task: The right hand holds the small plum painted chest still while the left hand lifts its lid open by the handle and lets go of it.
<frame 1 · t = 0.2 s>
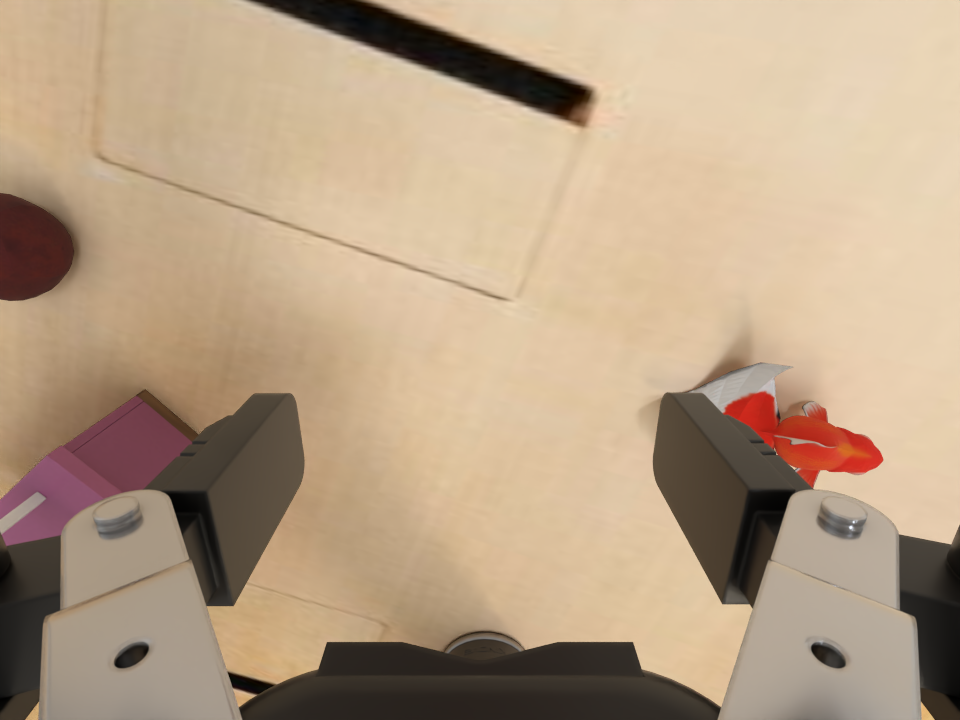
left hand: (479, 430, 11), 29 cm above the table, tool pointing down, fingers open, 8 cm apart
chest: (131, 477, 46), on the table
potato: (45, 239, 38), on the table
fish: (739, 413, 44), on the table
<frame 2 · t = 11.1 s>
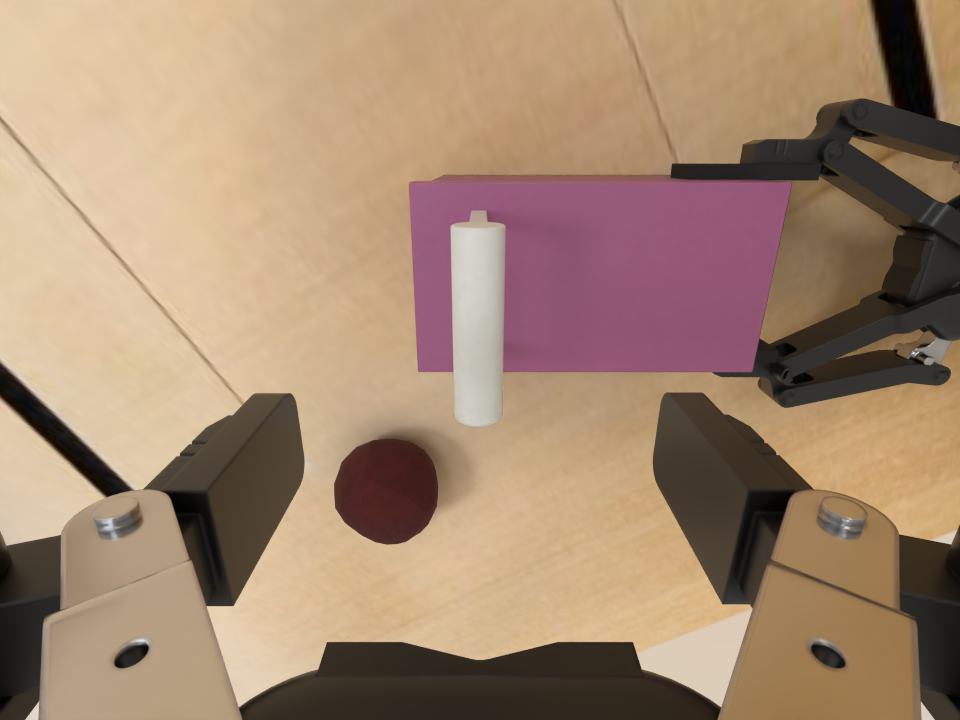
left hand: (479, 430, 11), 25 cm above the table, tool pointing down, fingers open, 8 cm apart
right hand: (667, 266, 29), fingers closed on chest, 9 cm apart
chest: (565, 246, 35), on the table, touching right hand
lid: (608, 301, 21), point 14 cm above the table, hinge at 0.0°
potato: (395, 461, 41), on the table
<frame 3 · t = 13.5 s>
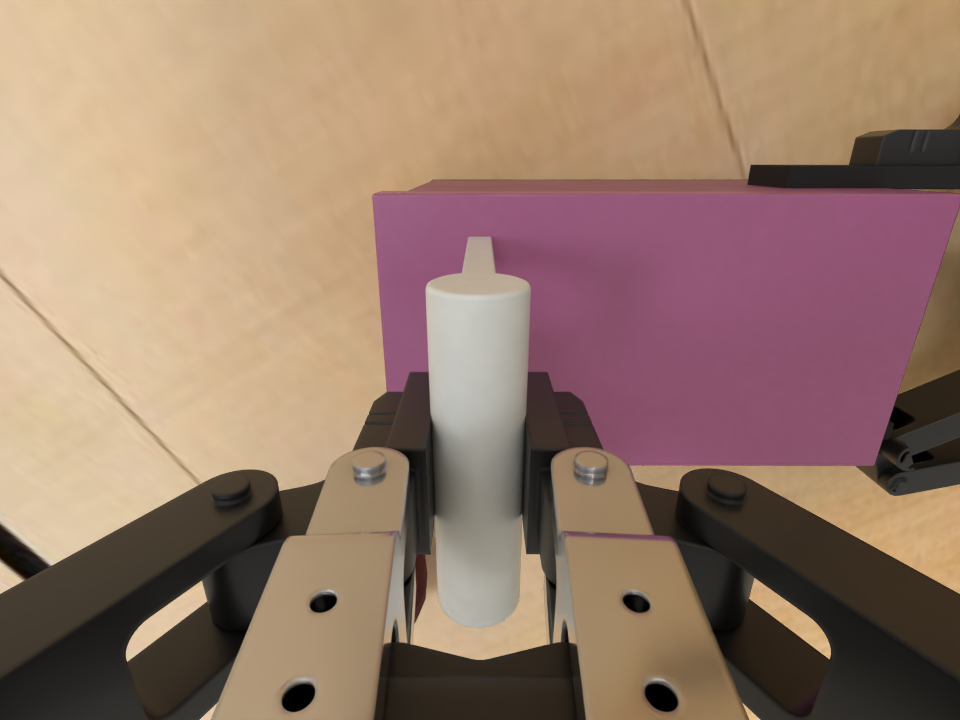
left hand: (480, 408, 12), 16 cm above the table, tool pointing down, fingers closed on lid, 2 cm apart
chest: (591, 272, 27), on the table, touching right hand
lid: (685, 384, 13), point 14 cm above the table, hinge at -0.1°, touching left hand
potato: (375, 534, 33), on the table
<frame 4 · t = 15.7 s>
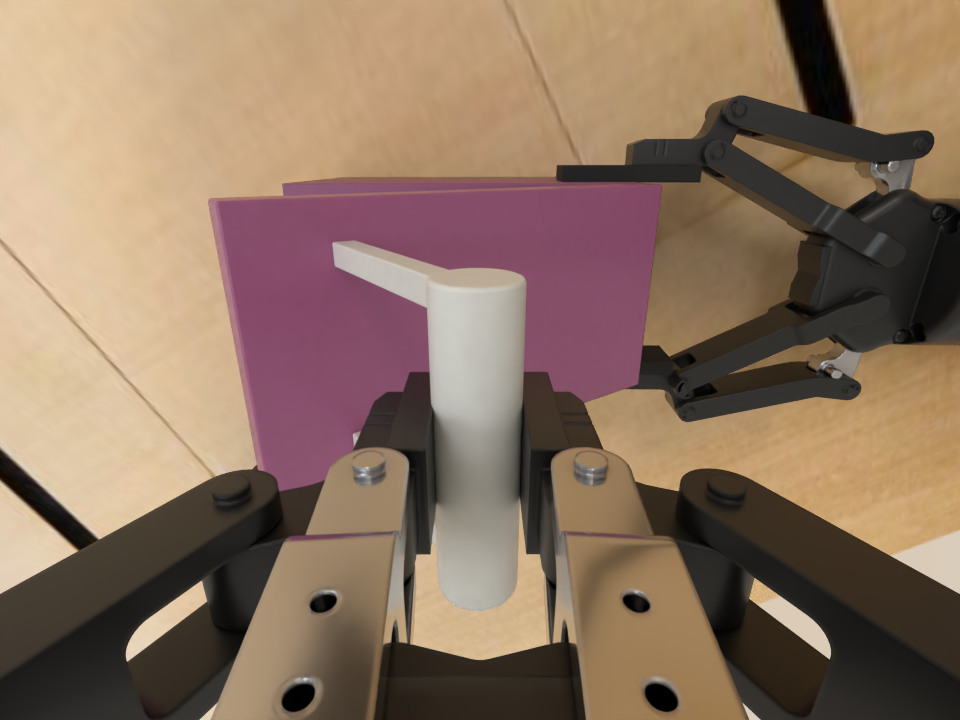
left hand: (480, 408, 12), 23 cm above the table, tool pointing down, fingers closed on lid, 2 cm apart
right hand: (554, 272, 27), fingers closed on chest, 9 cm apart
chest: (472, 251, 34), on the table, touching right hand
lid: (556, 347, 16), point 19 cm above the table, hinge at 35.8°, touching left hand
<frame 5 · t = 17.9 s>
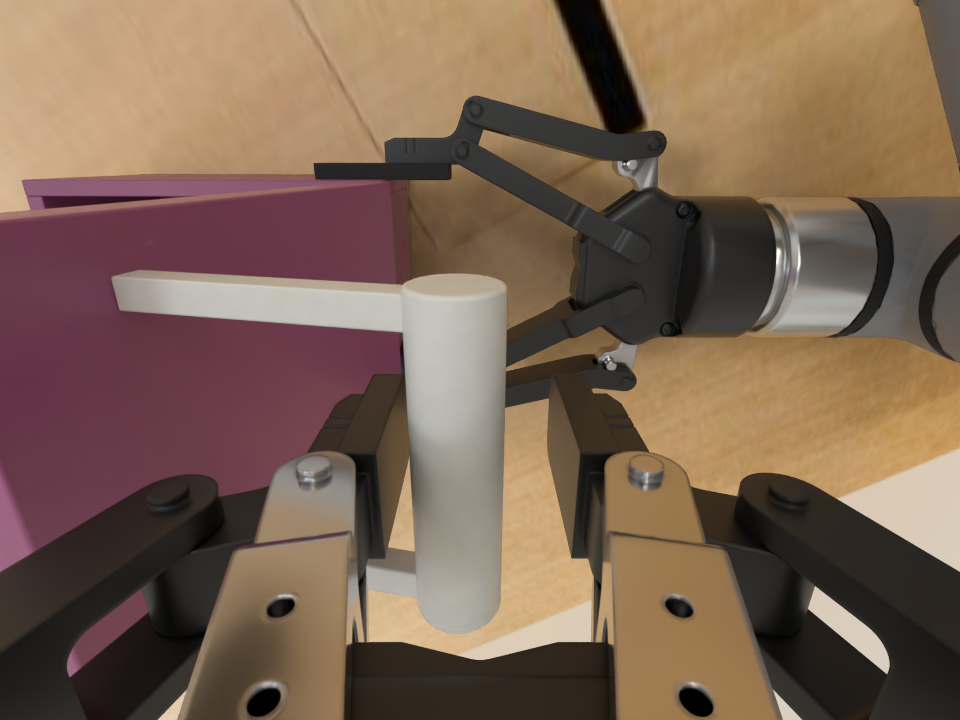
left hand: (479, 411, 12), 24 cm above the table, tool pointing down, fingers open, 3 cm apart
right hand: (332, 268, 28), fingers closed on chest, 9 cm apart
chest: (288, 248, 34), on the table, touching right hand
lid: (391, 352, 16), point 20 cm above the table, hinge at 76.9°
when the right hand's fingers open (7 cm above the table, at t = 21.6 s): chest stays where it is, on the table.
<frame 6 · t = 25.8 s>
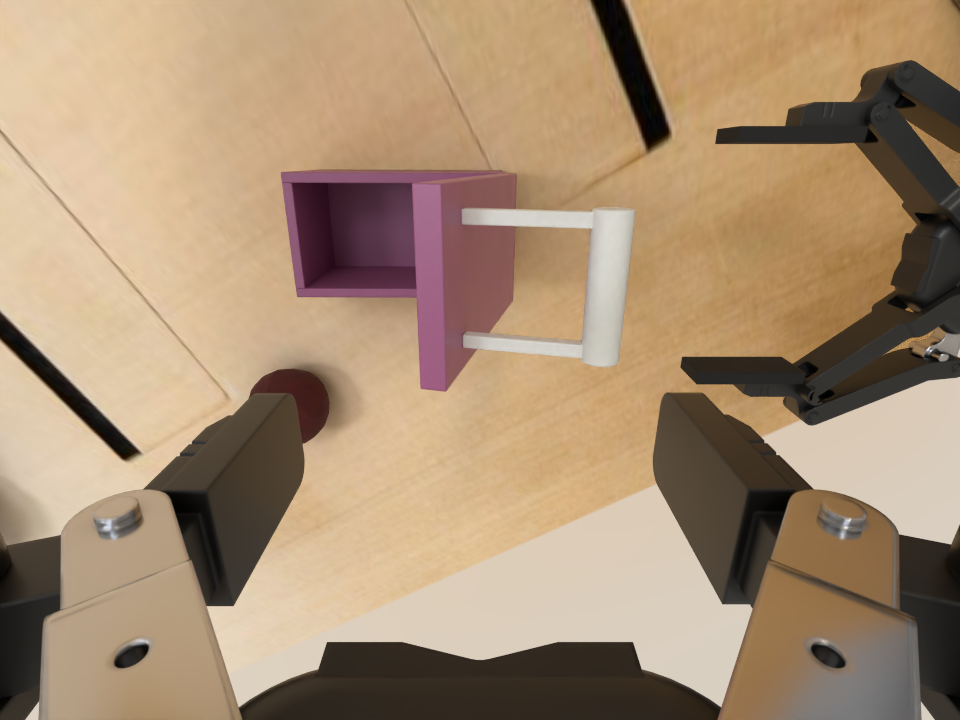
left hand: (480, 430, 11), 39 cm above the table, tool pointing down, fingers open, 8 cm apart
right hand: (705, 262, 30), fingers open, 13 cm apart
chest: (413, 222, 47), on the table
lid: (543, 263, 29), point 20 cm above the table, hinge at 76.0°
potato: (301, 389, 54), on the table
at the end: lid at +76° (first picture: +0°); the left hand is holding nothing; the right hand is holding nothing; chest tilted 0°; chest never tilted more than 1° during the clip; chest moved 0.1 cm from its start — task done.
